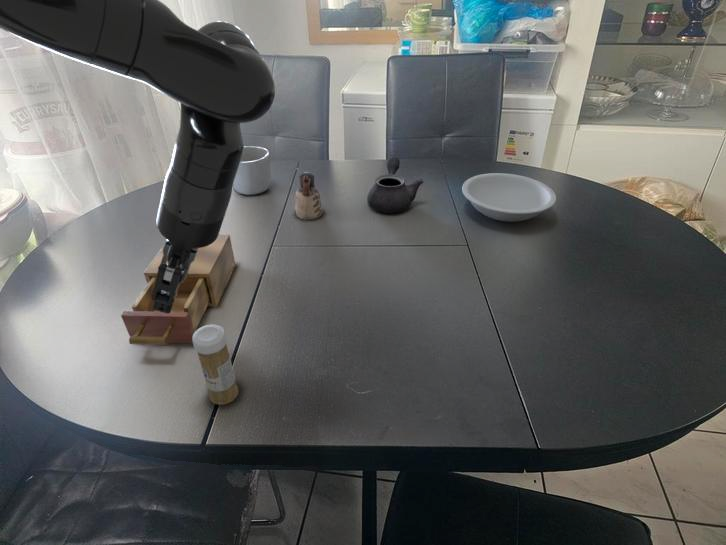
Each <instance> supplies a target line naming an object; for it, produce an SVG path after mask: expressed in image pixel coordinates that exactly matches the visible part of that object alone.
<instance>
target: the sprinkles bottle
mask: <svg viewBox="0 0 726 545" xmlns="http://www.w3.org/2000/svg"><path fill="white" fill-rule="evenodd" d="M192 341H193V343H192V344H193V348H194V350H195V351H196V352H197V356H198V359H199V363H200V368H201V370H202V375H203V378H204V382H205V385H206V388H207V390H208V394H209V395H208V396H209V399H210V402H212V404H215V405H218V406H224V405H228V404H230V403H232V402H233V401H234V400H235V399H236V398H237V397H238V395H239V387H238V385H237V382H236V377H235V376H236V375H235V372H234V367H233V363H232V359H231V356H230V352H229V349H228V344H227V336H226V332H225V329H224V328H223V327H222V326H220V325H218V324H206V325H203V326H200V327H199V328H197V329H196V330H195V333H194V334H193V337H192Z"/></svg>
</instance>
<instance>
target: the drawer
mask: <svg viewBox="0 0 726 545" xmlns="http://www.w3.org/2000/svg"><path fill="white" fill-rule="evenodd" d="M156 278H157V276H153V277H152V279H151V280H150V282H149V283H148V284H147V283H146V284H147V285H146V286H145V287H144V289H143V290H142V292H141V293H140V294H139V295H138V297H137V299H136V300H135V302H134V303H133V305H132V306H131V309H132V310H124V311H123V312H122V313H121V315H120V317H121V319H122V321H123V324H124V326H125V329H126V331H127V334H128V337H129V338H128V342H129V344H130V345H149V346H150V345H151V346H166V345H168V343H171V344H172V343H173V344H174V343H177V344H178V343H179V344H183V343H184V344H193V341H192V337H193V334H194V333H195V332H196V331H197V329H198V327H199V324H200V321H201V320H202V318H203V316H204V314H205V311H206V310H207V308H208V306H207V305H208V303H209V301H210V299H211V296H210V292H209V288H208V284H207V281H206V277H186V279H185V281H184V282H181V283H180V285H179V288H178V291H177V293H178V294H177V296H175V300H174V303H173V306H172V309H171V311H170V313H163V312H159V311H156V310H154V309H153V306H154V302H155V301H154V300H151V298H152V297H151V295H152V293H153V290H154V286H155V282H156Z"/></svg>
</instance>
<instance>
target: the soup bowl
mask: <svg viewBox="0 0 726 545" xmlns="http://www.w3.org/2000/svg"><path fill="white" fill-rule="evenodd" d="M461 191H462V194H463V196H464V197H465V198H466V199H467V200H468V201H469V202H470V203H471V205H472V206H473V207H474V209H475V210H477V212H479V213H481V214H482V215H484V216H485V217H488V218H490V219H493V220H496V221H500V222H506V223H507V222H509V223H511V222H514V223H515V222H516V223H517V222H523V221H527V220H530V219H532V218H534V217H536V216H538V215H539V214H541V213H542V212H545V211H547V210H549V209H551V208H552V207H553V206H554V205H555V204H556V202H557V196H556V193H555V191H554V190H553V189H552V188H551V187H550V186H549V185H547V184H546V183H543V182H541V181H539V180H537V179H534V178H531V177H528V176H524V175H519V174H516V173H515V174H514V173H506V172H504V173H503V172H494V173H493V172H491V173H482V174H477V175H474V176H472V177H470V178H468V179H467V180H465V181H464V183H463V184H462V187H461Z"/></svg>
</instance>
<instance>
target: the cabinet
mask: <svg viewBox="0 0 726 545" xmlns="http://www.w3.org/2000/svg"><path fill="white" fill-rule="evenodd" d="M164 245H165V243H164V244H163V245H162V247H161V249H160V250H159V251H158V253H157V254H156V255H155V257H154V258H153V260H152V261H151V262H150V263H149V265H148V267H147V268H146V269H145V270H144V272H143V276H144V278H145V281H146V284H148V283H149V282H150V280H151V279H152V277H153V276H157V274H158V267H159V265H160V263H161V261H162V258H163V248H164ZM166 264H167V265H168V261H167V262H166ZM236 264H237V263H236V259H235V256H234V250H233V246H232V240H231V236H230V234H218V237H217V239H216V240H215V241H214V242H213V243H212V244H210V245H208V246H206V247H202V248H198V251H197V255H196V257H195V260H194V261H193V262H192V263H191V266H190V269H189V271H188V274H187V277H206V281H207V284H208V288H209V292H210V296H211V299H210V301H209V303H208V305H207V307H215V308H216V307H218V305H219V303H220V301H221V298H222V295H223V294H224V292H225V291H226V290H225V289H226V287H227V285H228V283H229V281H230V279H231V277H232V274H233V272H234V270H235V267H236ZM182 272H184V271H182ZM182 274H183V273H182Z"/></svg>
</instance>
